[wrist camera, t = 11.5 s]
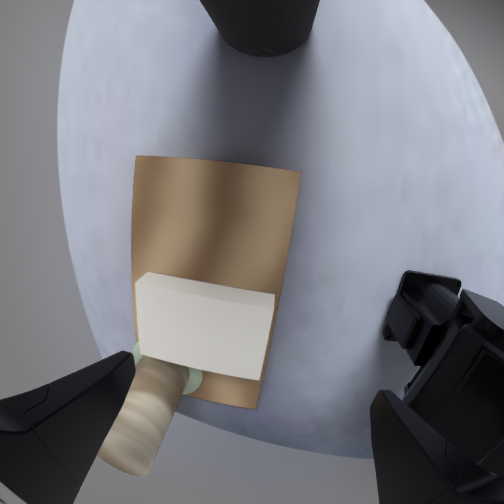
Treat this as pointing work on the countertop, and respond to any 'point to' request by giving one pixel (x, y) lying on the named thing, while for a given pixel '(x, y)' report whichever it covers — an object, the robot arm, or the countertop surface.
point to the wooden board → (213, 240)
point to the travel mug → (263, 23)
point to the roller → (144, 416)
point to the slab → (203, 324)
